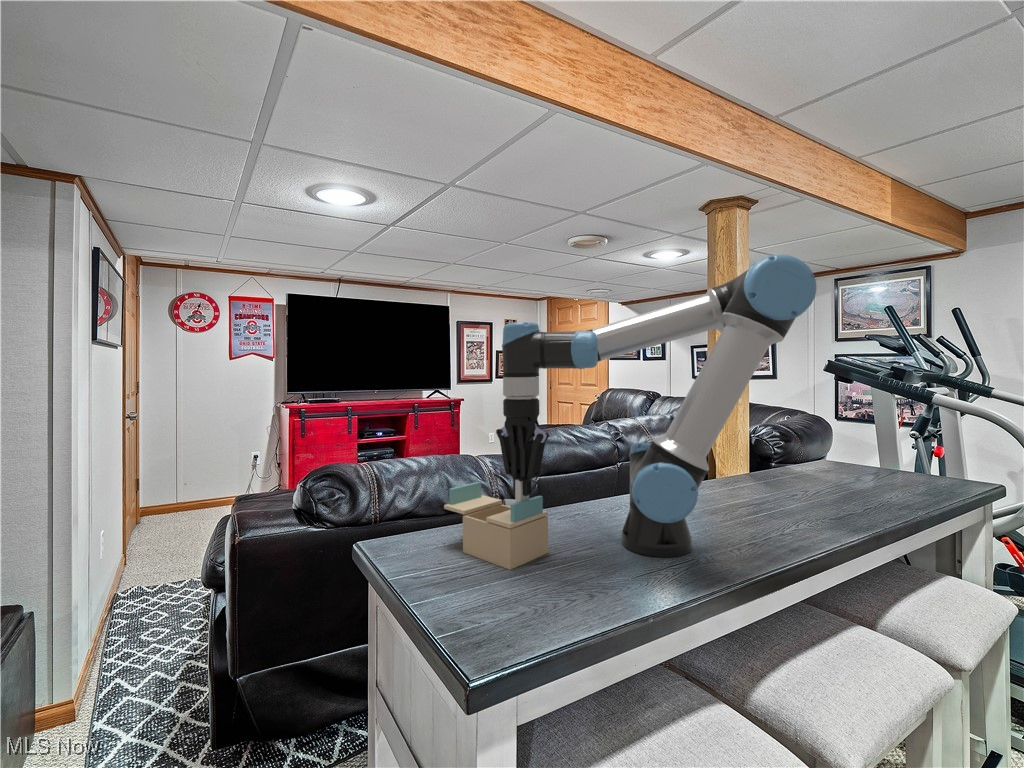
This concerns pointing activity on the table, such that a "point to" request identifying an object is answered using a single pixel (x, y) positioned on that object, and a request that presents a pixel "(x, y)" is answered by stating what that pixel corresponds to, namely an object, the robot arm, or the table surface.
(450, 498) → the lid
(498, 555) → the carton
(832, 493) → the table surface
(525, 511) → the lid near
